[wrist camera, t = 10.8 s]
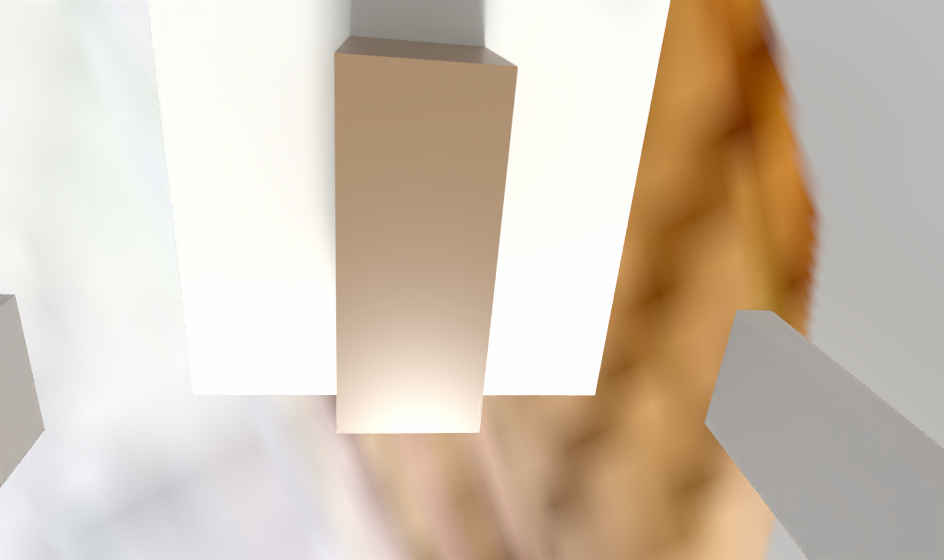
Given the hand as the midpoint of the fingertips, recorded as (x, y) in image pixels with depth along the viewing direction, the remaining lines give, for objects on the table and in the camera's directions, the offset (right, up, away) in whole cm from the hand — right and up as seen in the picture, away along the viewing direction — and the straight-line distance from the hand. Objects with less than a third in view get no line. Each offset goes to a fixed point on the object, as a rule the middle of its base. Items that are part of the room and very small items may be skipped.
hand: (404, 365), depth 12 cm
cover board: (-1, +5, +10) cm, 11 cm away
